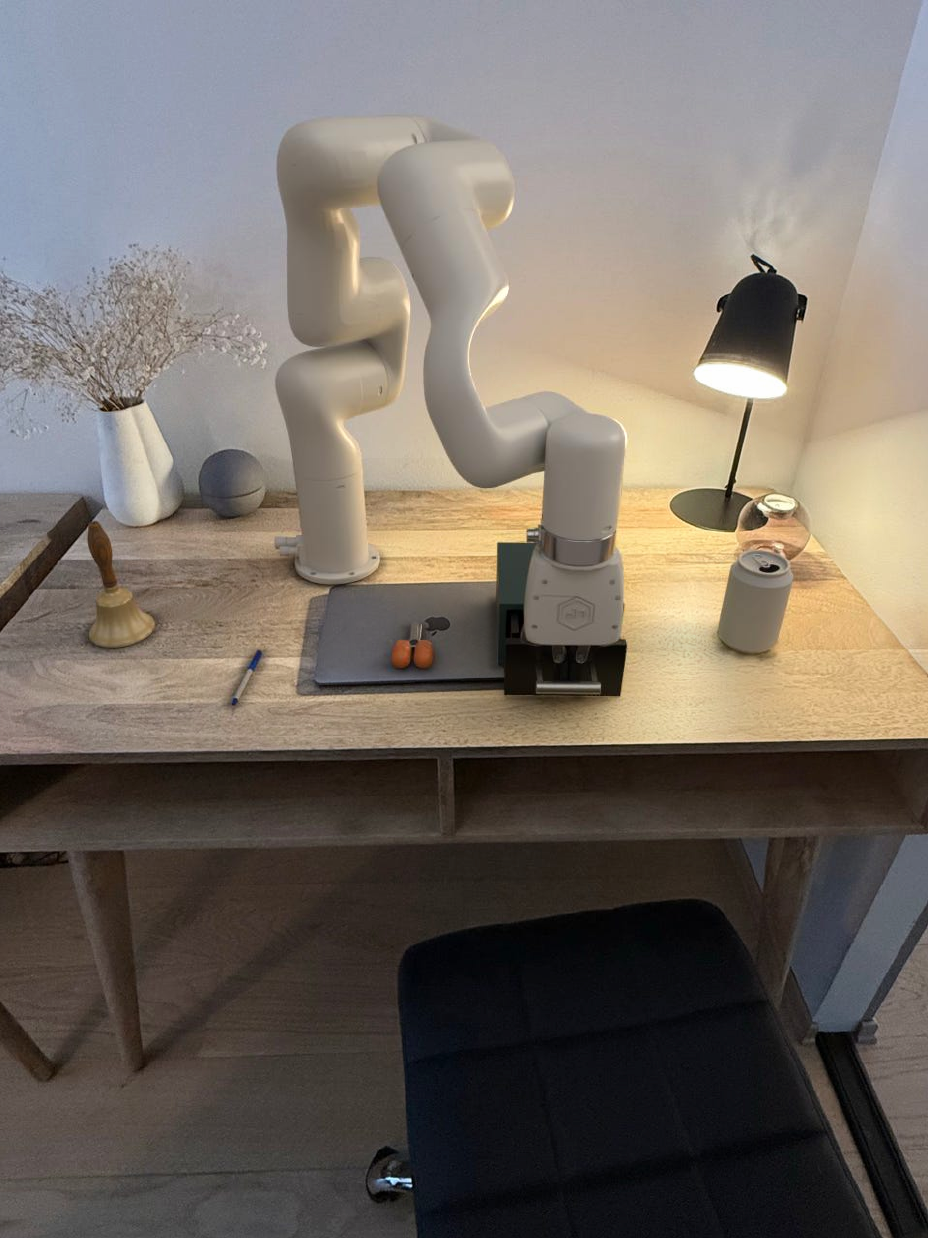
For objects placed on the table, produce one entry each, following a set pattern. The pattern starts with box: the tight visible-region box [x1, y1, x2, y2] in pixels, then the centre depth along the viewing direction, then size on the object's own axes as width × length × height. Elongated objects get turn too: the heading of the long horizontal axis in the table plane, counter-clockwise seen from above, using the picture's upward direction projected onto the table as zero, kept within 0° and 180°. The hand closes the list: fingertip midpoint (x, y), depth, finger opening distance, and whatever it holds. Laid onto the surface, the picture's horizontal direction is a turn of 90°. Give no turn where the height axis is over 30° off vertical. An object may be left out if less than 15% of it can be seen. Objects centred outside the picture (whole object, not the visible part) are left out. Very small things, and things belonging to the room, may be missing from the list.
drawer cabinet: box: [495, 541, 625, 667], centre depth 106 cm, size 15×15×9 cm
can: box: [717, 549, 794, 655], centre depth 104 cm, size 8×8×12 cm
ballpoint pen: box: [231, 649, 263, 706], centre depth 100 cm, size 10×1×1 cm, turn 176°
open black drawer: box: [503, 610, 628, 698], centre depth 98 cm, size 19×14×7 cm
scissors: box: [390, 622, 435, 669], centre depth 105 cm, size 10×5×2 cm, turn 179°
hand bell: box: [86, 520, 156, 649], centre depth 105 cm, size 8×8×16 cm
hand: (565, 684), depth 93 cm, fingers closed
